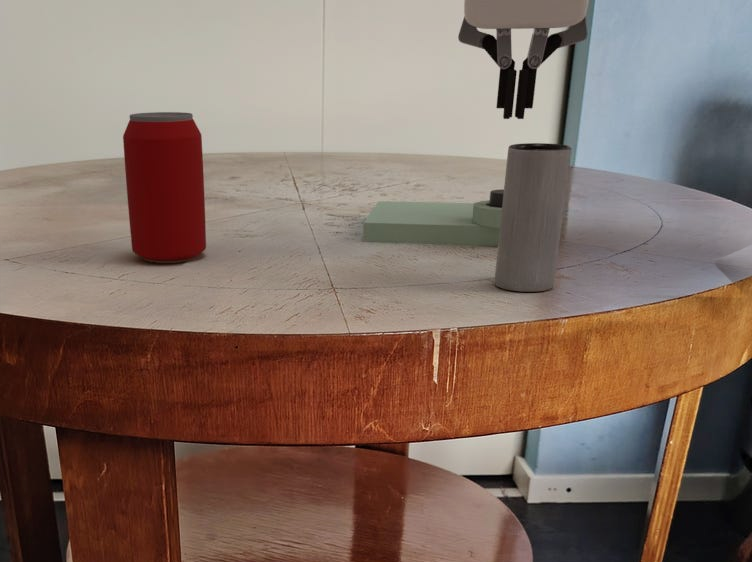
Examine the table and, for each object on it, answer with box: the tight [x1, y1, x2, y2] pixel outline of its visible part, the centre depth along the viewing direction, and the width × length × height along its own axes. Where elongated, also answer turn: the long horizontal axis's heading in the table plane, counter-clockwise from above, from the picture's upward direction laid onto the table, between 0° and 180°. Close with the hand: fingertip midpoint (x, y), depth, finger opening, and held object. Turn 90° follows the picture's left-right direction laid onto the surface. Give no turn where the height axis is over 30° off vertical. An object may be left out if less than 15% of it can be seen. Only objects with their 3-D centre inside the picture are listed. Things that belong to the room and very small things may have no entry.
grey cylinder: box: [494, 142, 573, 293], centre depth 69 cm, size 4×4×10 cm
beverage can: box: [122, 111, 207, 264], centre depth 79 cm, size 7×7×12 cm
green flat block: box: [362, 199, 502, 247], centre depth 90 cm, size 16×14×4 cm
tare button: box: [489, 188, 504, 208], centre depth 84 cm, size 3×3×2 cm
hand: (513, 117), depth 81 cm, fingers closed
